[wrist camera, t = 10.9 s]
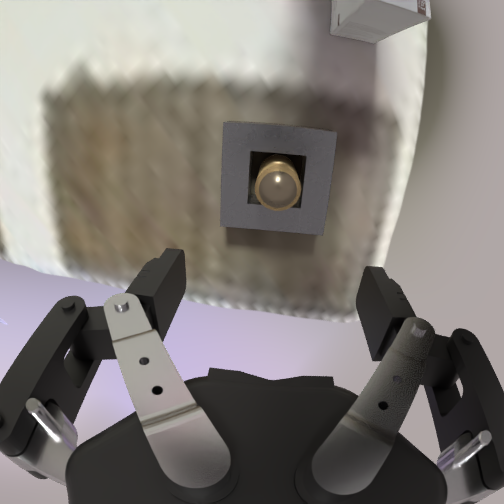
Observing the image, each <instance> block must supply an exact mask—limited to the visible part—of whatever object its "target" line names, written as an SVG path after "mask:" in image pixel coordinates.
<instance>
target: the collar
mask: <svg viewBox="0 0 504 504" xmlns="http://www.w3.org/2000/svg"><path fill="white" fill-rule="evenodd" d="M336 140H337V132H334V131H332V130H326V129H319V128H311V127H302V126H293V125H283V124H271V123H258V122H239V121H227V122H223V146H222V175H221V216H220V226H223V227H235V228H247V229H259V230H271V231H282V232H293V233H303V234H314V235H323V231H324V226H325V219H326V213H327V207H328V200H329V194H330V187H331V179H332V172H333V164H334V157H335V148H336ZM253 151H259V152H272V153H283V154H293V155H303V160H302V169H301V179H300V185H301V193H300V197H299V199H298V201H297V202H296V203H295V204H294V205H293V206H292V207H290V208H288V209H286V210H282V211H274V210H270V209H268V208H266V207H264V206H263V205H262V204H261V203H260V202H259V200H258V199H257V197H256V194H250V190H251V173H252V157H253Z"/></svg>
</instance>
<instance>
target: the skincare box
mask: <svg viewBox="0 0 504 504" xmlns="http://www.w3.org/2000/svg"><path fill="white" fill-rule="evenodd" d="M430 19H431V11H430V1H429V0H332V10H331V27H330V35H335V36H341V37H346V38H351V39H356V40H361V41H365V42H369V43H376V42H378V41H380V40H382V39H385V38H387V37H389V36H391V35H393V34H396V33H398V32H400V31H402V30H405V29H407V28H409V27H412V26H414V25H417V24H419V23H422V22H425V21H427V20H430Z"/></svg>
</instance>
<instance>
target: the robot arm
mask: <svg viewBox="0 0 504 504" xmlns="http://www.w3.org/2000/svg"><path fill="white" fill-rule="evenodd" d="M185 289H186V269H185V254H184V251H183V250H181V249H170V248H167V249H165V251H164V252H163V254H162V255H161V256H160V258H154V259H152V260H151V261H149V262H147V263H146V264H145V266H144V267H143V268H142V270H141V271H140V272H139V274H138V275H137V277H136V278H135V279H134V281H133V282H132V283H131V285H130V286H129V287H128V289H127V290H126V292H125V293H120V294H116V295H114V296H112V297H110V298H109V299H108V300H106V302H105V303H104V306H98V307H86V305H85V302H84V300H83V299H82V298H81V297H78V296H68V297H65V298H63V299H61V300H59V301H58V302H57V303H56V304H55V305H54V307H53V308H52V309H51V311H50V312H49V313H48V314H47V316H46V317H45V318H44V320H43V321H42V322H41V324H40V325H39V327H38V328H37V329H36V331H35V332H34V333H33V335H32V336H31V337H30V339H29V340H28V342H27V343H26V345H25V346H24V347H23V349H22V351H21V352H20V353H19V355H18V356H17V358H16V359H15V361H14V363H13V364H12V366H11V367H10V369H9V370H8V372H7V373H6V375H5V377H4V378H3V380H2V381H1V383H0V451H1V452H2V453H3V454H4V455H5V456H6V457H8V458H9V459H10V460H11V461H13V462H14V463H15V464H17V465H18V466H19V467H21V468H22V469H24V470H26V471H28V472H29V473H30V474H32V475H33V476H35V477H37V478H39V479H47V478H50V479H52V480H54V481H56V482H58V483H60V484H62V485H64V486H66V487H67V492H68V500H69V504H474V503H477V502H478V501H480V500H482V499H484V498H486V497H487V496H489V495H491V494H493V493H494V492H496V491H498V490H499V489H501V488H502V487H504V391H503V389H502V387H501V385H500V382H499V380H498V378H497V376H496V374H495V372H494V370H493V368H492V365H491V363H490V361H489V360H488V358H487V356H486V354H485V352H484V350H483V348H482V346H481V344H480V342H479V340H478V339H477V337H476V336H475V335H474V334H473V333H472V332H470V331H468V330H466V329H461V328H459V329H456V330H454V331H453V333H452V335H451V337H446V336H441V335H437V334H435V330H434V328H433V326H431V324H430V323H429V322H427V321H426V320H424V319H422V318H418V317H416V315H415V313H414V311H413V309H412V307H411V305H410V303H409V302H408V300H407V298H406V296H405V295H404V294H403V291H402V289H401V287H400V286H399V285H398V284H397V283H396V282H395V281H394V280H393V279H389V278H388V276H387V274H386V273H385V270H384V269H383V268H382V267H373V266H366V267H365V269H364V272H363V276H362V279H361V283H360V286H359V290H358V293H357V297H356V308H357V311H358V314H359V318H360V321H361V324H362V327H363V330H364V333H365V337H366V340H367V344H368V347H369V351H370V354H371V358H372V361H381V362H380V364H379V366H378V367H377V369H376V371H375V372H374V374H373V375H372V377H371V378H370V380H369V382H368V383H367V385H366V386H365V388H364V389H363V391H362V392H361V394H360V395H359V396H358V395H356V394H354V393H353V392H351V391H349V390H346V389H344V388H341V387H338V386H334V381H333V377H327V376H325V377H324V376H299V377H293V378H287V379H280V380H268V379H264V378H261V377H257V376H254V375H250V374H247V373H244V372H241V371H234V370H225V369H217V368H209V373H208V376H204V377H198V378H193V379H189V380H186V381H184V382H183V380H182V378H181V376H180V374H179V373H178V371H177V369H176V367H175V365H174V363H173V362H172V360H171V358H170V356H169V354H168V352H167V350H166V348H165V346H164V345H163V341H164V338H165V336H166V333H167V331H168V329H169V327H170V324H171V322H172V320H173V318H174V315H175V313H176V311H177V308H178V306H179V304H180V302H181V300H182V298H183V295H184V293H185ZM69 348H70V351H69V353H68V354H67V356H66V358H65V359H64V357H65V355H66V353H67V351H68V349H69ZM105 359H117V360H118V363H119V366H120V369H121V372H122V375H123V378H124V381H125V384H126V386H127V389H128V392H129V395H130V397H131V400H132V402H133V405H134V407H135V410H136V411H135V412H134V413H132V414H130V415H129V416H127V417H126V418H124V419H122V420H121V421H119V422H117V423H116V424H114V425H112V426H111V427H109V428H107V429H106V430H104V431H102V432H101V433H99V434H97V435H95V436H94V437H92V438H90V439H89V440H87V441H85V442H84V443H82V444H80V445H79V446H78V447H77V445H76V444H77V439H78V435H77V431H76V428H75V427H74V425H73V424H74V421H75V419H76V417H77V414H78V412H79V409H80V407H81V405H82V403H83V400H84V398H85V396H86V393H87V391H88V389H89V387H90V384H91V382H92V380H93V378H94V376H95V374H96V372H97V370H98V367H99V365H100V363H101V361H102V360H105ZM458 378H460V380H461V383H462V385H463V395H462V398H461V396H460V393H459V391H458V388H457V385H456V381H457V380H458ZM419 385H424V388H425V391H426V395H427V398H428V402H429V405H430V409H431V413H432V417H433V421H434V425H435V429H436V433H437V437H438V442H439V447H440V451H441V454H440V456H439V457H438V460H437V465H436V464H434V463H433V462H432V461H431V460H430V459H429V458H427V457H426V456H425V455H424V454H423V453H422V452H421V451H419V450H418V449H417V448H416V447H415V446H414V445H413V444H411V443H410V442H409V441H408V440H407V439H406V438H405V437H404V436H403V435H401V434H400V433H399V432H398V431H399V429H400V427H401V425H402V423H403V421H404V419H405V417H406V415H407V413H408V411H409V409H410V406H411V404H412V402H413V400H414V397H415V395H416V393H417V390H418V388H419Z"/></svg>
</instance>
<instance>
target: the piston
mask: <svg viewBox="0 0 504 504" xmlns="http://www.w3.org/2000/svg"><path fill="white" fill-rule="evenodd" d="M255 193H256V197H257V199H258V200H259V202H260V203H261V204H262V205H263V206H264V207H266V208H268V209H270V210H274V211H282V210H286V209H288V208H290V207H292V206H293V205H294V204H295V203H296V202H297V201H298V199H299V197H300V193H301V185H300V181H299V178H298V175H297V172H296V169H295V167H294V164H293V163H292V161H291V160H290V159H289V158H287V157H285V156H283V155H272V156H269V157H267V158H266V159H265V160H264V161H263V162H262V164H261V166H260V169H259V173H258V177H257V180H256V184H255Z"/></svg>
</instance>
